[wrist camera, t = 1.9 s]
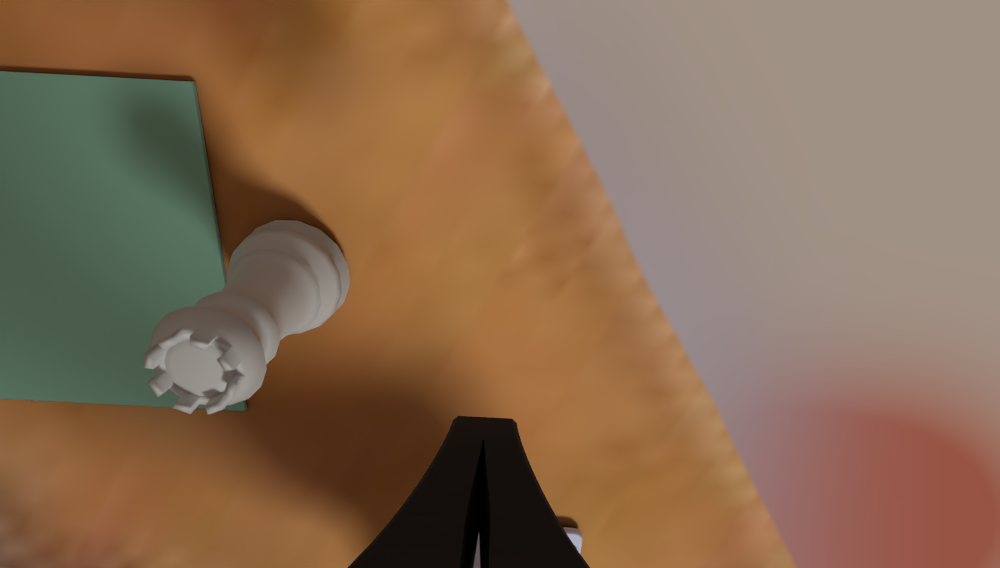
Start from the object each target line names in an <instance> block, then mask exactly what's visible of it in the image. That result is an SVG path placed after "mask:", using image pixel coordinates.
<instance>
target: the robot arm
mask: <svg viewBox="0 0 1000 568" xmlns="http://www.w3.org/2000/svg"><path fill="white" fill-rule="evenodd" d="M581 546H582V534H581V532H580V530H578V529H576V528H568V527H562V526H561V524H560V522H559V521H558V519H557V517H556V515H555V514H554V512H553V510H552V508H551V507H550V505H549V503H548V501H547V499H546V497H545V495H544V493H543V492H542V490H541V487H540V485H539V483H538V481H537V479H536V477H535V475H534V473H533V471H532V468H531V466H530V464H529V461H528V459H527V456H526V454H525V451H524V448H523V446H522V443H521V440H520V436H519V433H518V429H517V423H516V422H515V421H514V420H513V419H505V418H486V417H467V416H458V417H457V418H455V419H454V420H453V422H452V425H451V428H450V430H449V432H448V434H447V436H446V438H445V440H444V442H443V444H442V446H441V448H440V450H439V451H438V453H437V455H436V457H435V458H434V460H433V462H432V463H431V465H430V466H429V468H428V470H427V471H426V473H425V474H424V476H423V478H422V479H421V481H420V482H419V483H418V485H417V486H416V488H415V489H414V490H413V492H412V493H411V495H410V496H409V497H408V499H407V500H406V501H405V503H404V504H403V506H402V507H401V508H400V510H399V511H398V512H397V513H396V515H395V516H394V517H393V518H392V520H391V521H390V522H389V523H388V524H387V526H386V527H385V528H384V529H383V530H382V531H381V533H380V534H379V535H378V536H377V537H376V538H375V539H374V541H373V542H372V543H371V544H370V545H369V546H368V547H367V548H366V549H365V550H364V551H363V552H362V553H361V554H360V555H359V556H358V557H357V558H356V560H355V561H354V562H353V563H352V564H351V565H350V566H349V567H348V568H590V567H589V566H588V564H587V563H586V562H585V560H584V559H583V558H582V556H581V555H580V553H581Z"/></svg>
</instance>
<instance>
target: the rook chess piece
mask: <svg viewBox="0 0 1000 568" xmlns="http://www.w3.org/2000/svg"><path fill="white" fill-rule="evenodd" d="M349 286H350V280H349V270H348V264H347V262H346V260H345V258H344V256H343V254H342V252H341V250H340V249H339V247H338V245H337V244H336V243H335V242H334V241H332V240H331V239H330V238H329V237H328V236H327V235H326V234H325V233H323V232H322V231H321V230H320V229H318V228H315V227H313V226H310V225H308V224H305V223H303V222H300V221H294V220H274V221H272V222H269V223H267V224H264V225H262V226H259V227H257V228H255V229H254V231H253V232H252V233H251V234H250V235H249V236H247V237H246V238H245V239H244V240H243V241H242V242H241V243H240V244H239V246H238V247H237V248H236V249H235V250H234V251H233V253H232V256H231V259H230V263H229V267H228V271H227V282H226V285H225V287H224V288H223V289H222V290H221V292H216V293H213V294H210V295H208V296H205V297H203V298H201V299H200V300H199V301H198V302H197V303H196V305H195V306H194V307H188V306H186V307H183V308H181V309H178V310H176V311H173V312H170V313H168V314H166V315H165V316H164V317H163V319H162V320H161V321H160V322H159V323H158V324H157V325H156V326H155V328H154V330H153V335H152V340H151V345H150V349H149V350H148V351H147V352H145V356H144V361H143V366H142V367H143V368H148V369H154V368H155V369H156V372H157V374H156V375H155V376H154V377H153V378H152V379H151V380H149V381H148V382H147V384H148V386H149V387H150V388H151V390H152V391H153V392H154V394H155V395H156V396H157V397H159V396H160V395H162V394H163V393H165V392H166V391H167V390H168V389H170V390H171V391H172V392H174V393H175V394H177V395H178V396H179V397H180V398H179V399H178V400H177V401H176V403H175V405H174V407H173V408H174V409H177V410H180V411H182V412H185V413H188V414H191V413H192V412H193V411H194V410H195V409H196V408H197V407H198V405H199V404H201V405H205V406H204V407H205V409H206V411H207V413H208V415H209V414H212V413H215V412H217V411H220V410H223V409H224V408H225V407H226V406H227V405H232V404H235V403H238V402H241V401H244V400H247V399H249V398H250V397H251V396H252V395H253V394H254V393H255V392H256V391H257V390H258V389H259V388H260V387H261V386H262V383H263V380H264V377H265V373H266V370H267V367H266V365H267V364H268V363H269V362H270V361H271V360H272V359H273V358H274V357H275V355H276V352H277V349H278V346H279V343H280V340H282V339H283V338H284V337H285V336H287V335H291V334H294V333H295V334H299V333H302V332H305V331H308V330H310V329H313V328H316V327H318V326H320V325H322V324H323V323H324V322H325V321H326V320H327V319H328V318H329V317H330V316H331V315H332V314H333V313H334V312H335V311H336V310H337V309H338V308H339V307H340V306H341V305H342V304H343V303H344V300H345V298H346V295H347V292H348V289H349Z"/></svg>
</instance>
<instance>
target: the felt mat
mask: <svg viewBox="0 0 1000 568" xmlns="http://www.w3.org/2000/svg"><path fill="white" fill-rule="evenodd" d="M226 282H227V278H226V272H225V265H224V259H223V253H222V247H221V240H220V234H219V228H218V222H217V215H216V209H215V203H214V197H213V190H212V184H211V178H210V171H209V165H208V159H207V153H206V146H205V140H204V134H203V128H202V121H201V115H200V109H199V102H198V96H197V90H196V84H195V82H194V81H176V80H157V79H139V78H121V77H103V76H84V75H66V74H48V73H30V72H11V71H0V399H19V400H38V401H58V402H77V403H96V404H116V405H135V406H154V407H174V405H175V403H176V401H177V400H178V399H179V398H180V397H179V396H178V395H177V394H175V393H174V392H172V391H171V390H170V389H168V390H167V391H166V392H165V393H163V394H162V395H160V396H159V397H157V396H156V395H155V394H154V392H153V391H152V390H151V388H150V387H149V386H148V384H147V382H148V381H149V380H151V379H152V378H153V377H154V376H155V375H156V374H157V372H156V369H155V368H154V369H148V368H143V367H142V366H143V361H144V356H145V352H147V351H148V350H149V349H150V345H151V340H152V335H153V330H154V328H155V326H156V325H157V324H158V323H159V322H160V321H161V320H162V319H163V317H164V316H165V315H166V314H168V313H170V312H173V311H176V310H178V309H181V308H183V307H186V306H188V307H194V306H195V305H196V303H197V302H198V301H199V300H200V299H201V298H203V297H205V296H208V295H210V294H213V293H216V292H221V290H222V289H223V288H224V287H225V285H226ZM204 406H205V405H201V404H199V405H198V407H197V408H196V409H205V407H204ZM223 410H232V411H246V410H247V403H246V400H244V401H241V402H238V403H235V404H232V405H227V406H226V407H225V408H224V409H223Z"/></svg>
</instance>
